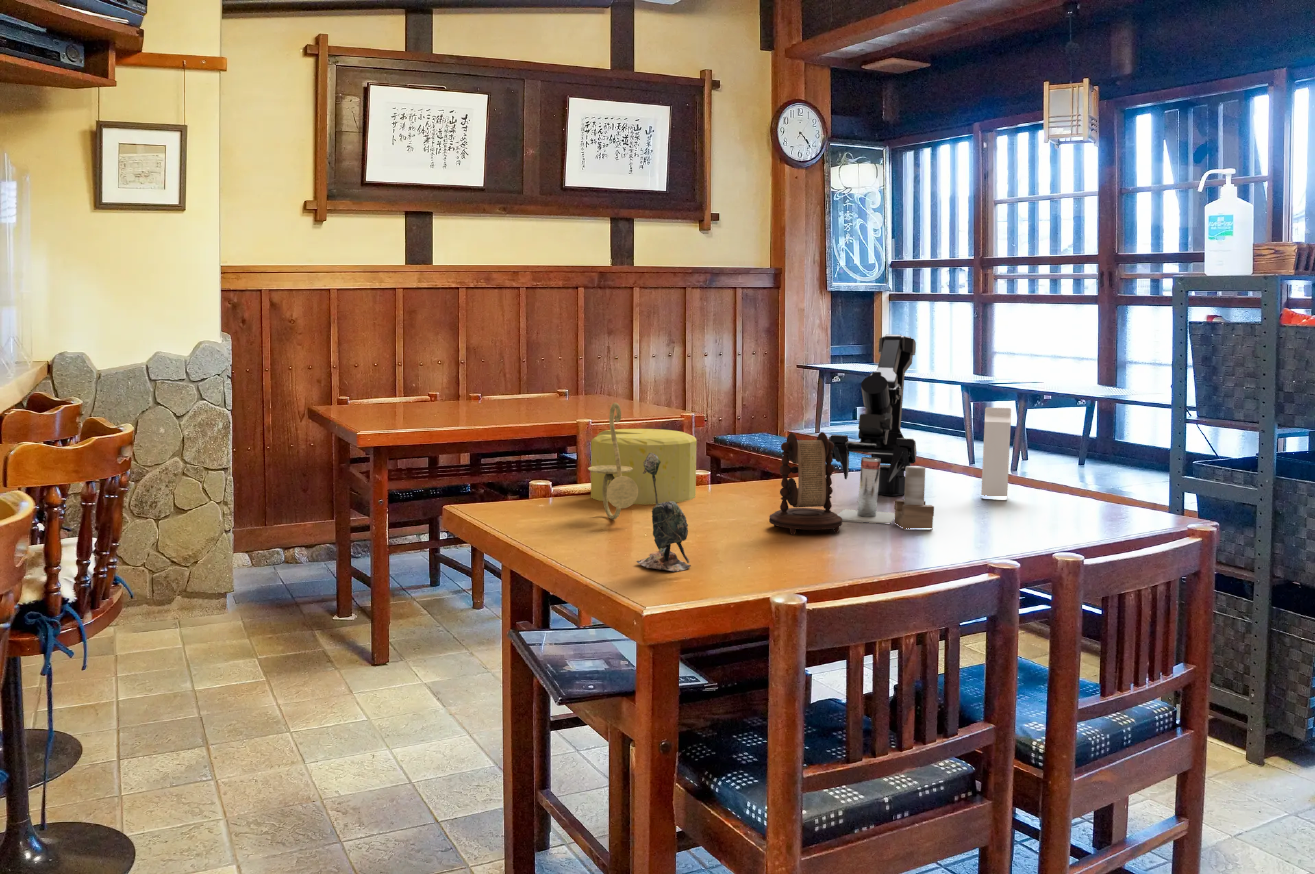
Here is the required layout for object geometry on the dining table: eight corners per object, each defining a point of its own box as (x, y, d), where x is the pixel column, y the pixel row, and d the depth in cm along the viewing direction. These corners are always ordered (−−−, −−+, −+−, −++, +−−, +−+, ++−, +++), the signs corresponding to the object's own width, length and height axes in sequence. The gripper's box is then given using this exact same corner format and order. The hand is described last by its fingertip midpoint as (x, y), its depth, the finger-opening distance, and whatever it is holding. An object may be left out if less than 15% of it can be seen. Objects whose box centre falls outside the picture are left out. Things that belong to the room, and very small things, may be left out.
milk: (981, 495, 270) (984, 406, 268) (1007, 497, 268) (1010, 407, 266) (981, 499, 264) (984, 408, 262) (1007, 501, 263) (1011, 408, 260)
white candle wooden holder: (893, 523, 233) (895, 464, 231) (921, 523, 233) (924, 464, 232) (904, 530, 225) (906, 470, 224) (933, 530, 225) (935, 470, 224)
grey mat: (844, 511, 247) (844, 509, 246) (898, 515, 242) (898, 513, 242) (833, 520, 235) (833, 518, 235) (890, 524, 231) (890, 522, 231)
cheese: (565, 493, 266) (566, 432, 265) (647, 483, 284) (647, 425, 282) (635, 508, 247) (636, 442, 245) (718, 497, 264) (719, 435, 263)
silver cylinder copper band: (858, 512, 241) (863, 456, 240) (877, 515, 240) (881, 458, 239) (855, 515, 238) (859, 458, 236) (874, 517, 236) (879, 460, 235)
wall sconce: (644, 524, 228) (645, 404, 226) (600, 526, 225) (601, 405, 222) (624, 512, 241) (625, 399, 239) (582, 514, 238) (583, 399, 236)
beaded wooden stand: (785, 538, 216) (787, 437, 214) (758, 524, 230) (760, 429, 228) (854, 535, 220) (857, 435, 218) (823, 521, 234) (826, 428, 232)
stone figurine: (659, 577, 183) (660, 458, 180) (631, 563, 193) (632, 450, 190) (702, 573, 186) (704, 456, 184) (673, 559, 196) (674, 448, 194)
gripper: (830, 398, 243) (819, 454, 234) (916, 401, 237) (908, 458, 227) (836, 430, 251) (825, 485, 242) (920, 434, 245) (911, 490, 236)
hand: (866, 479), depth 237 cm, fingers open, 9 cm apart
